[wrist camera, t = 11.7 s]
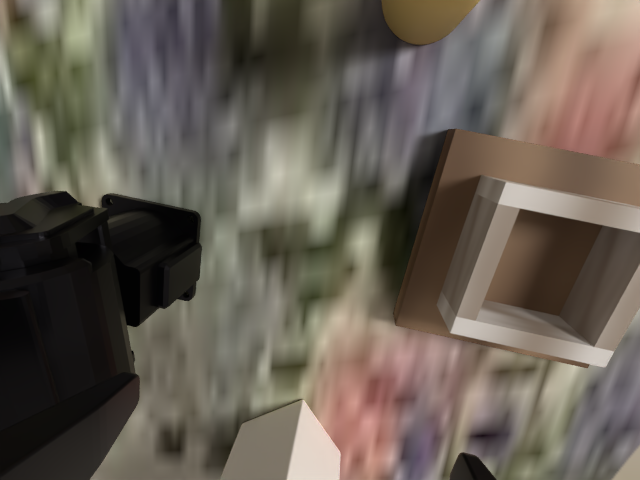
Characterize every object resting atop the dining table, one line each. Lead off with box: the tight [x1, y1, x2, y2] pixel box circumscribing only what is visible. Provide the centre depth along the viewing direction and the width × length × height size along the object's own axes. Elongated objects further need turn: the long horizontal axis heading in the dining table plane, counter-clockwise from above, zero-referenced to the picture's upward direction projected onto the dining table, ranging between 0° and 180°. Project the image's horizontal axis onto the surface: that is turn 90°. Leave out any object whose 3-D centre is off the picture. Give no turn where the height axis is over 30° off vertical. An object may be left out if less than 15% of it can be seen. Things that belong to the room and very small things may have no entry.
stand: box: [393, 129, 640, 368], centre depth 18 cm, size 12×12×4 cm
